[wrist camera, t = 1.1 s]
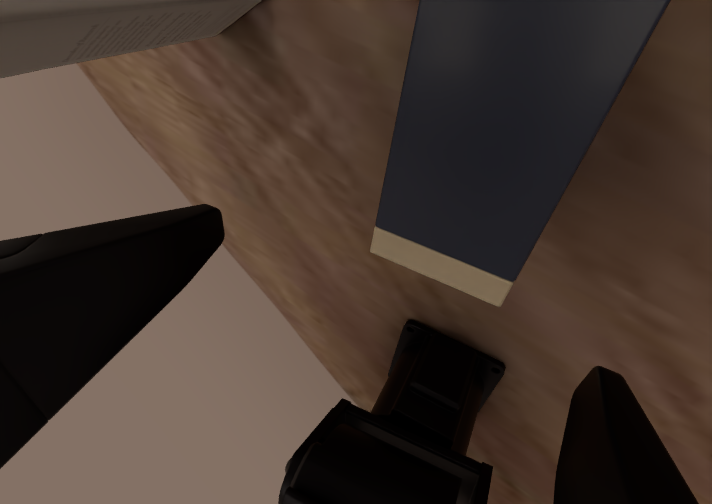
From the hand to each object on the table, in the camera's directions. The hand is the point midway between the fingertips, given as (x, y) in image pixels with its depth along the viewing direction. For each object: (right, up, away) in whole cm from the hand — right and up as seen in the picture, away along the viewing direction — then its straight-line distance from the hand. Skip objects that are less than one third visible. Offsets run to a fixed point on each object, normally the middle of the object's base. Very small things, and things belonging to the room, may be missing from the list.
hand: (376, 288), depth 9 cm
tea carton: (+6, +8, +6) cm, 11 cm away
